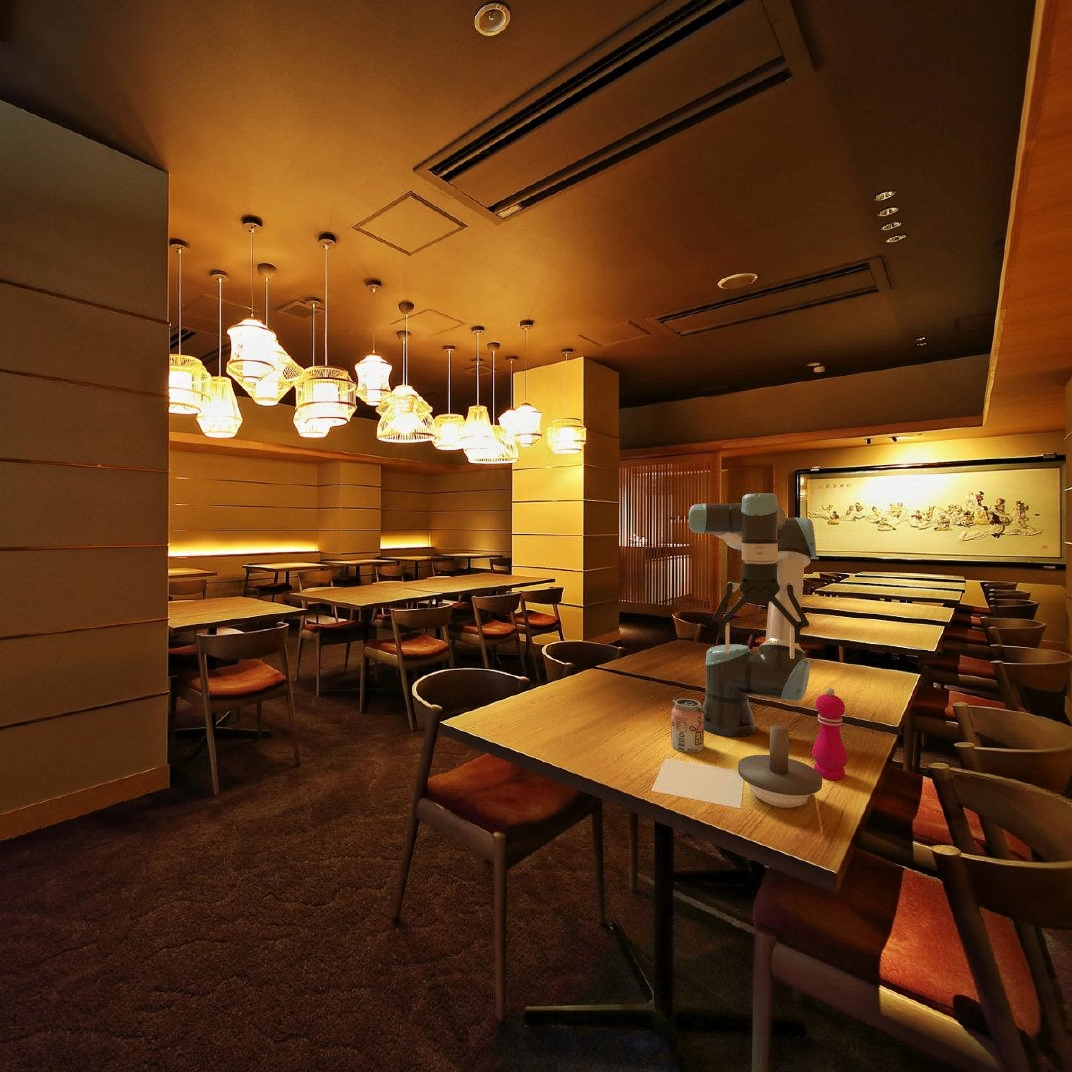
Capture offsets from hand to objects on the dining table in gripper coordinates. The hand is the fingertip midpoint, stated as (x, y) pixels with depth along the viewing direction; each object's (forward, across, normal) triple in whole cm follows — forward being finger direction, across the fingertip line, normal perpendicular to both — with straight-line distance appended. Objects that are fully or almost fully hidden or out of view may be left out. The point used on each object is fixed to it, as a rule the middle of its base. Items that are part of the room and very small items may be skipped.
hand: (759, 654), depth 123 cm
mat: (+28, -12, -9) cm, 32 cm away
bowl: (+28, +4, -11) cm, 30 cm away
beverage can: (+28, -17, +10) cm, 34 cm away
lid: (+23, +4, -11) cm, 25 cm away
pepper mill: (+29, +15, +7) cm, 33 cm away
